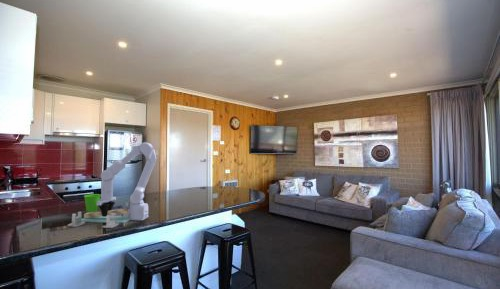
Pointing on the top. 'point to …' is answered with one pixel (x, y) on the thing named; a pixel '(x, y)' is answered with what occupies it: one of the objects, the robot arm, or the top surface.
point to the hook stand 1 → (76, 220)
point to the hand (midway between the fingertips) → (106, 215)
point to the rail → (99, 214)
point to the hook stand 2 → (110, 221)
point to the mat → (103, 219)
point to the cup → (91, 202)
